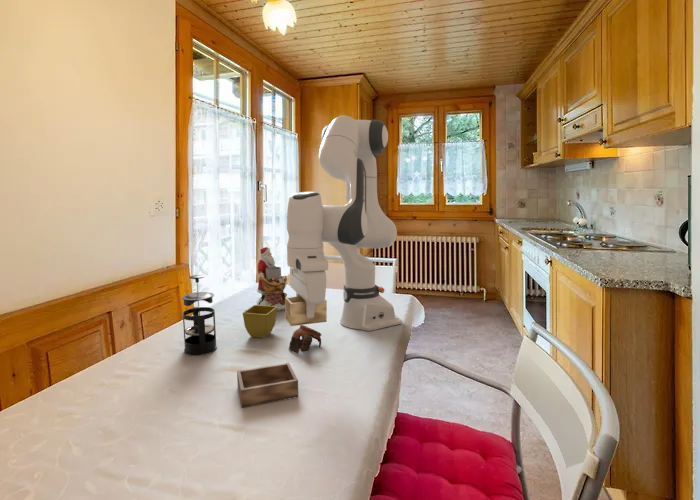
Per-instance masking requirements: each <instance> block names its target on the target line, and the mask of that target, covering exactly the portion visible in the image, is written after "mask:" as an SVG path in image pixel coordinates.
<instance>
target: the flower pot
mask: <svg viewBox="0 0 700 500" xmlns="http://www.w3.org/2000/svg"><path fill="white" fill-rule="evenodd" d="M277 313H278V311H277V307H275V306H262V305H257V304H254V305H251V306H250V307H249V308H247V309H246V310H244V311H243V312H242V318H243V323H244V327H245V330H246V332H247V333H248V335H249V336H250V337H253V338H261V339H262V338H263V339H264V338H266V337H268V336H269V335H270V334H271V333H272V331H273V329H274V327H275V325H276V321H277Z"/></svg>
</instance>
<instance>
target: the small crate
mask: <svg viewBox="0 0 700 500" xmlns="http://www.w3.org/2000/svg"><path fill="white" fill-rule="evenodd" d="M327 304H328V303H327V299H326V298H325V300H324V302H323V304H316V307H315V310H314V317H313V318H307V317H306V315H305V314H306V313H305V310H306V307H307V304H306V301H305V300H304V299H303V298H302V297H301V296H298V297H297V296H288V297H287V296H286V298H285V310H284V312H285V313H284V314H285V316H284V317H285V320H286V322H287V323H288V324H289V326H290V327H295V326H300V325H304V326H305V325H311V324H319V323H320V324H321V323H326V322H327V317H328V316H327V312H328V311H327V309H328V308H327V306H328V305H327Z"/></svg>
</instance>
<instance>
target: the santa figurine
mask: <svg viewBox="0 0 700 500" xmlns="http://www.w3.org/2000/svg"><path fill="white" fill-rule="evenodd" d="M259 251H260V254H259V255H260V256H259V261H258V262H257V274H258V286H257V289H256V292H257V293H259V294H261V297H260V298H259V297H258V299H257V301H256V305H262V306H275V307H277V312H280V311H285V298H286V297H287V295H288V294H287V292H284V291H285V289H286V283H287V280H288V278H287V276H286V275H282V267H280V266H276V265H275V264H276V263H275V259H274V256H272V252H271V248H270V247H267V246H265V247H261V249H260V250H259Z"/></svg>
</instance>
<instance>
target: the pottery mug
mask: <svg viewBox="0 0 700 500" xmlns="http://www.w3.org/2000/svg"><path fill="white" fill-rule="evenodd" d="M321 336H322V333H321V332H319V331H318V330H315V329H312V328H310V327H308V326H306V325H305V324H304V325H299V328H297V329H295V331H293V333H292V335H291V338H290V342H289V347H288V350H290V351H291V352H293V353H294V354H296V355H299V354H300V351H301V352H302V353H307V352H308V351H309V350H310V347H311V344H312V342H313V339H314V340H316V341H317V342H318V348H321V346H322V339H321V338H322V337H321Z"/></svg>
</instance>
